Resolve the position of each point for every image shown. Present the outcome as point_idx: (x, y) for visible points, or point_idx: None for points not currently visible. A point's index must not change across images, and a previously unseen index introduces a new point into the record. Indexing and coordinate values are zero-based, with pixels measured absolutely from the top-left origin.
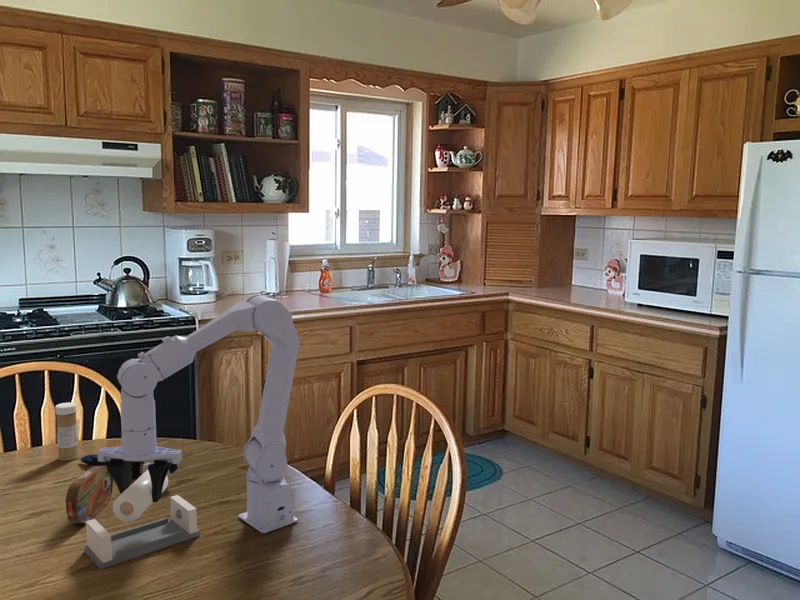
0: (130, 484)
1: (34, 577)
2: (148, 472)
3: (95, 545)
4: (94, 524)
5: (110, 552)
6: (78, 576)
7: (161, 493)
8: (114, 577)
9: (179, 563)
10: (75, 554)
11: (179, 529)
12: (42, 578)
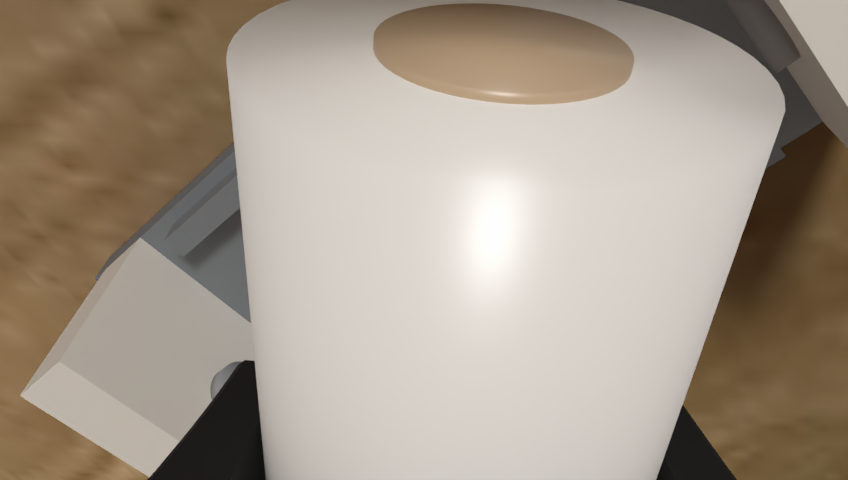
0: (238, 473)
1: (42, 458)
2: (448, 413)
3: None
4: (129, 438)
5: None
6: None
7: (698, 428)
8: None
9: (749, 376)
10: (79, 283)
11: None
12: (86, 465)
